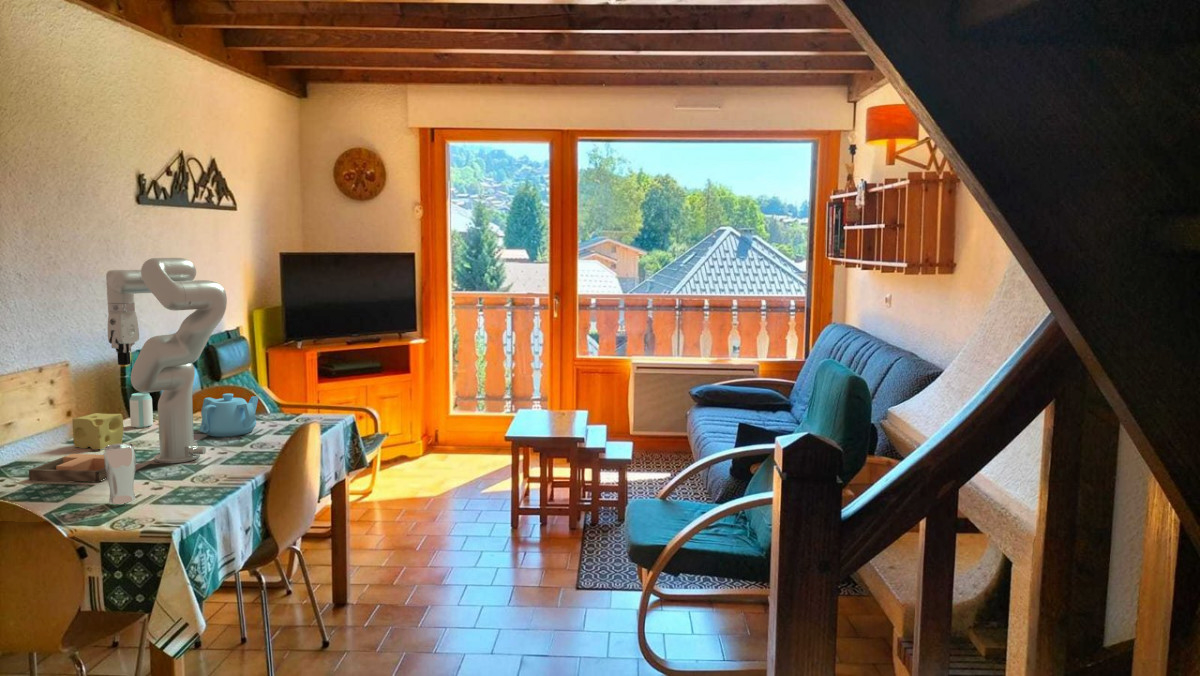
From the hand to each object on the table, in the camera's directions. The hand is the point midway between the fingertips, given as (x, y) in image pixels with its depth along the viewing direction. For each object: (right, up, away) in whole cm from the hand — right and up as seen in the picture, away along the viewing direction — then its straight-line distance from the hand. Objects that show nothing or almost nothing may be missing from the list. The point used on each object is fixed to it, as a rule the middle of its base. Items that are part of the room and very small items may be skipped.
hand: (124, 364), depth 267 cm
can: (-12, -24, +31) cm, 41 cm away
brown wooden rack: (+5, -31, -29) cm, 43 cm away
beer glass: (+31, -34, -54) cm, 71 cm away
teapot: (+23, -25, +25) cm, 43 cm away
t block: (+4, -31, -29) cm, 42 cm away
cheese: (-10, -27, +3) cm, 29 cm away
